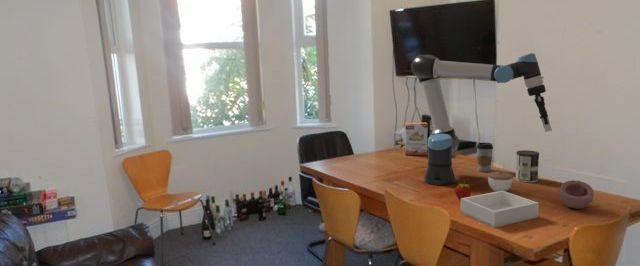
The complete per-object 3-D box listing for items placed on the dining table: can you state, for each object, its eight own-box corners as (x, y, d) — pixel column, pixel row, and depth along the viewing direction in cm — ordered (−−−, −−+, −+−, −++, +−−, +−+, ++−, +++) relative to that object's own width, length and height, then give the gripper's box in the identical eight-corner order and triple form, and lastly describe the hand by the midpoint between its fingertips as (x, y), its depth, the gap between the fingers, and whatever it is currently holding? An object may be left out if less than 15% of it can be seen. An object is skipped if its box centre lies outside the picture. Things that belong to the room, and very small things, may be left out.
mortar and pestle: (560, 211, 174) (562, 183, 172) (556, 202, 185) (557, 175, 183) (595, 214, 170) (597, 185, 168) (589, 204, 181) (591, 177, 179)
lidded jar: (501, 195, 196) (501, 175, 195) (482, 189, 206) (482, 170, 204) (517, 191, 201) (518, 171, 199) (498, 185, 210) (499, 167, 209)
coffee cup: (475, 172, 237) (476, 144, 234) (476, 168, 244) (477, 142, 242) (492, 173, 234) (493, 145, 231) (492, 169, 241) (493, 142, 239)
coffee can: (534, 177, 223) (536, 150, 221) (540, 182, 213) (542, 154, 211) (513, 176, 225) (514, 150, 223) (517, 182, 215) (519, 154, 213)
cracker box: (405, 155, 283) (405, 123, 279) (405, 153, 289) (405, 122, 285) (427, 155, 280) (427, 123, 277) (426, 153, 286) (427, 122, 283)
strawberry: (461, 199, 192) (461, 177, 190) (474, 204, 185) (474, 181, 184) (451, 201, 190) (451, 179, 188) (463, 206, 183) (464, 183, 181)
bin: (460, 212, 176) (460, 198, 175) (501, 204, 184) (502, 190, 183) (494, 227, 159) (494, 212, 158) (537, 217, 168) (538, 202, 167)
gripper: (545, 84, 193) (558, 130, 193) (542, 82, 216) (554, 123, 216) (527, 89, 196) (540, 134, 197) (526, 87, 219) (538, 127, 219)
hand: (547, 129), depth 206 cm, fingers open, 13 cm apart
